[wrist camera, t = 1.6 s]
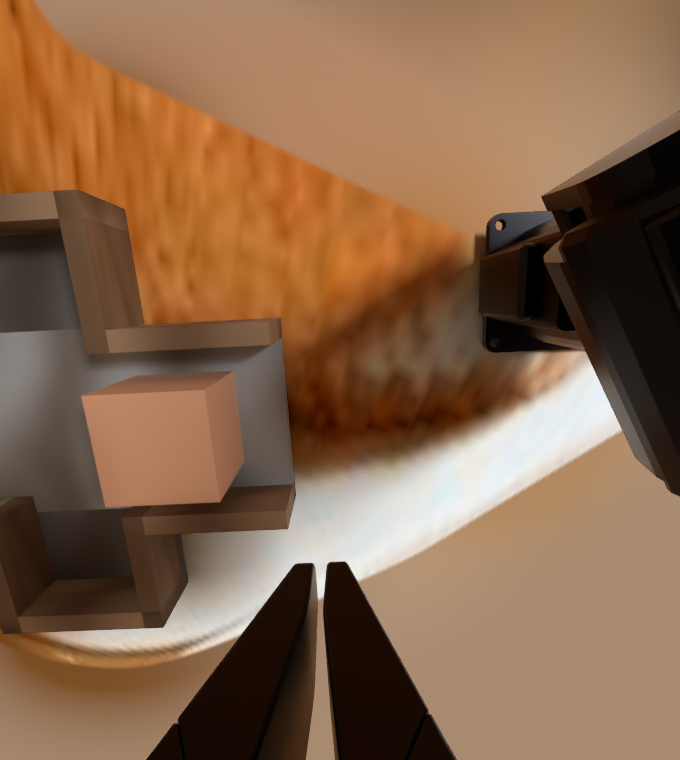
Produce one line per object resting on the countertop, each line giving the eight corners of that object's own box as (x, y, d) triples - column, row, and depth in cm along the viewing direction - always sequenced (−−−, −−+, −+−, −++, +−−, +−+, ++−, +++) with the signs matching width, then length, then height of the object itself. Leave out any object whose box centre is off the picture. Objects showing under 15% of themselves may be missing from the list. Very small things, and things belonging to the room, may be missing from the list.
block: (233, 370, 18) (204, 389, 14) (244, 461, 19) (220, 501, 15) (136, 375, 18) (80, 396, 14) (153, 465, 19) (105, 507, 15)
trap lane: (270, 200, 17) (254, 179, 14) (302, 576, 22) (296, 622, 19) (-201, 228, 17) (-316, 212, 14) (-70, 592, 22) (-136, 639, 19)
